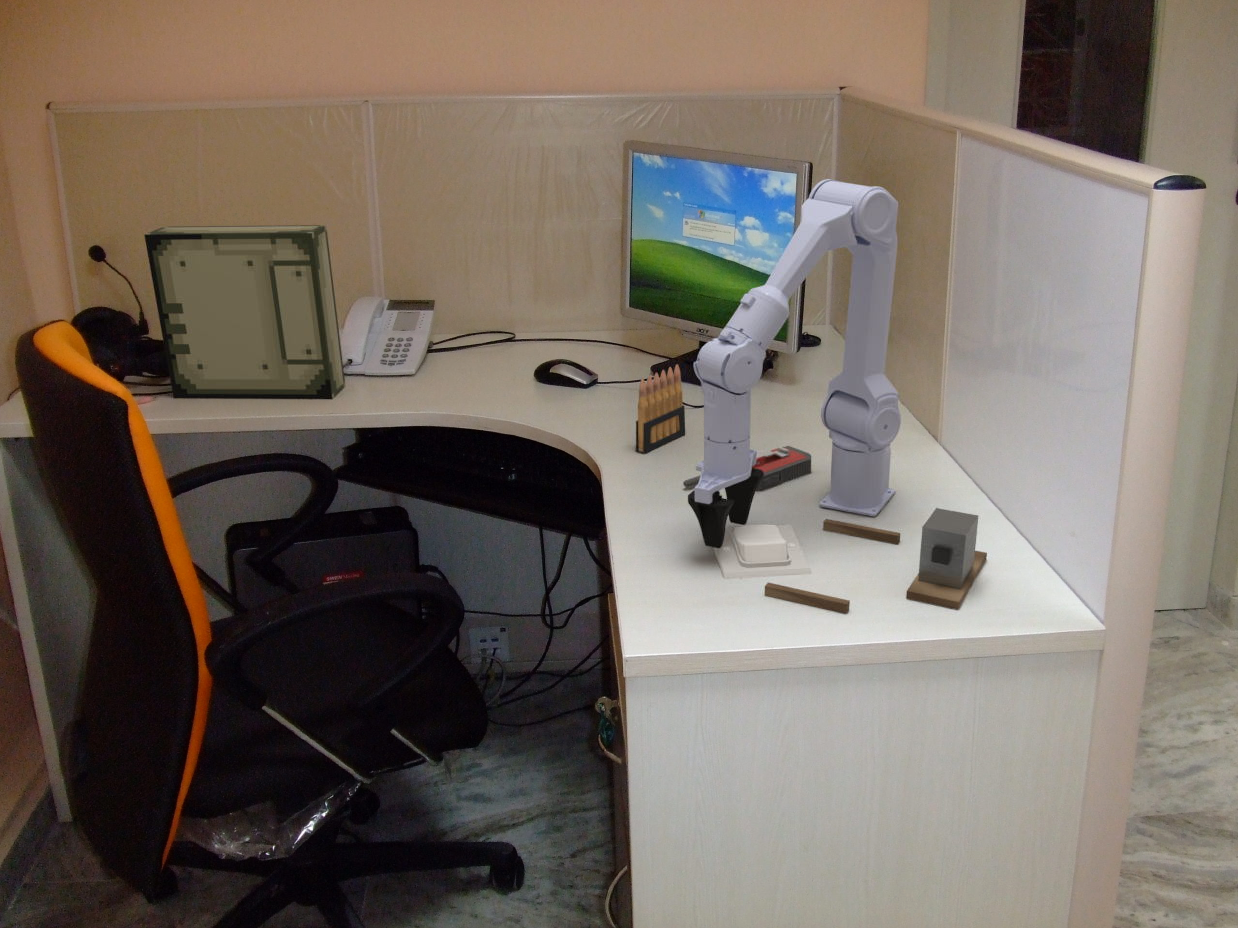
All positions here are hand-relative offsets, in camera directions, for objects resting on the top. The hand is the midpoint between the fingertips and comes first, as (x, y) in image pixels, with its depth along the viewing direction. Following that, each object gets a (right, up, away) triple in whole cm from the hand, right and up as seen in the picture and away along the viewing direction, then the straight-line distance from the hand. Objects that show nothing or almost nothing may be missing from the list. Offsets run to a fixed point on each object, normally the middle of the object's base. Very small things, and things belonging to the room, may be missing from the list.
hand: (726, 534), depth 148 cm
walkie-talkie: (+6, +6, +21) cm, 22 cm away
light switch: (+4, -3, -2) cm, 5 cm away
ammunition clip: (-7, +12, +35) cm, 38 cm away
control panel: (-80, +22, +65) cm, 106 cm away
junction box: (+25, -4, -11) cm, 28 cm away
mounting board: (+26, -5, -10) cm, 28 cm away
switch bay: (+13, -4, -6) cm, 15 cm away
